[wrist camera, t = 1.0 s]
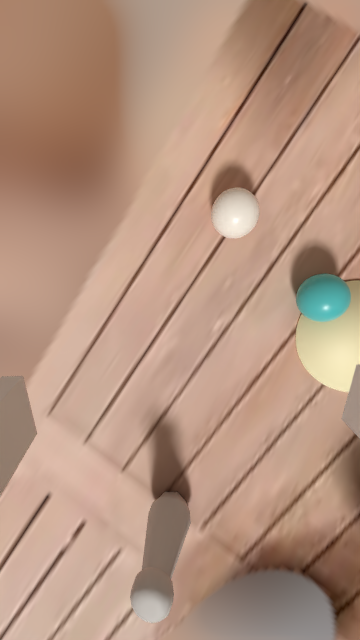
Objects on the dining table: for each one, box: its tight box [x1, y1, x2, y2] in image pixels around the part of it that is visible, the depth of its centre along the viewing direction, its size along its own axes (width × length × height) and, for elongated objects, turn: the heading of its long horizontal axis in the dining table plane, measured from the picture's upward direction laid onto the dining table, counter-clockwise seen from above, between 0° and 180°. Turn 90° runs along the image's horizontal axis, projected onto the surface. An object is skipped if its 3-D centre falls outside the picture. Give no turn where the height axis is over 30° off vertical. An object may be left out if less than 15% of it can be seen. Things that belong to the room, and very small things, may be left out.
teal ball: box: [296, 274, 351, 322], centre depth 30 cm, size 6×6×6 cm
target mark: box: [295, 280, 360, 392], centre depth 32 cm, size 14×14×1 cm
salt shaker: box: [130, 492, 191, 623], centre depth 32 cm, size 6×6×13 cm
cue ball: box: [211, 187, 259, 238], centre depth 31 cm, size 6×6×6 cm
